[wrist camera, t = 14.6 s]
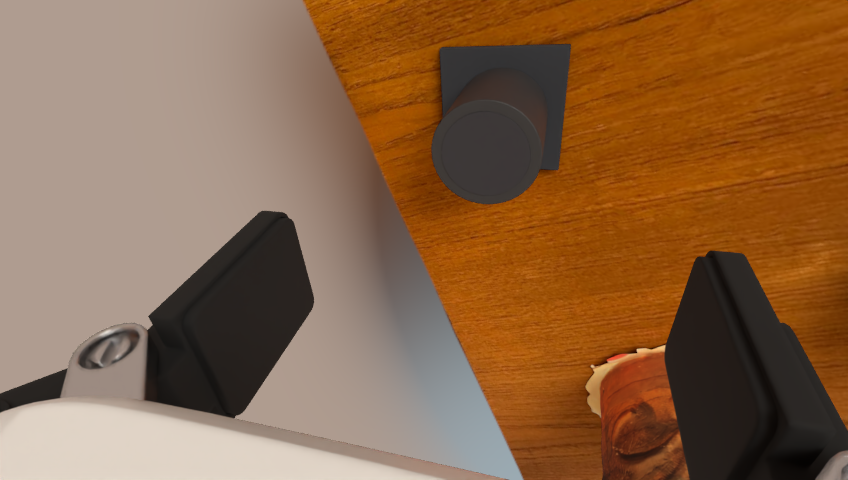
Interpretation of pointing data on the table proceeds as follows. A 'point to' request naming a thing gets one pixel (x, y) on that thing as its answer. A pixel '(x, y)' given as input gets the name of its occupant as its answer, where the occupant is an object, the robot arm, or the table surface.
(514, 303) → the table surface
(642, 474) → the vessel
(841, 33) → the table surface
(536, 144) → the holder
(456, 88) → the pad
